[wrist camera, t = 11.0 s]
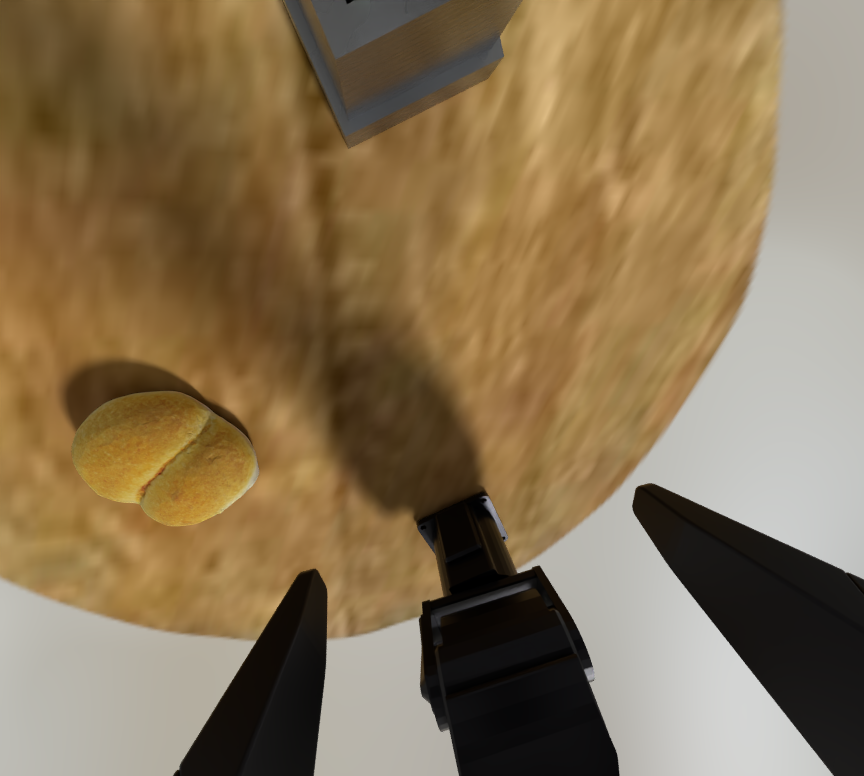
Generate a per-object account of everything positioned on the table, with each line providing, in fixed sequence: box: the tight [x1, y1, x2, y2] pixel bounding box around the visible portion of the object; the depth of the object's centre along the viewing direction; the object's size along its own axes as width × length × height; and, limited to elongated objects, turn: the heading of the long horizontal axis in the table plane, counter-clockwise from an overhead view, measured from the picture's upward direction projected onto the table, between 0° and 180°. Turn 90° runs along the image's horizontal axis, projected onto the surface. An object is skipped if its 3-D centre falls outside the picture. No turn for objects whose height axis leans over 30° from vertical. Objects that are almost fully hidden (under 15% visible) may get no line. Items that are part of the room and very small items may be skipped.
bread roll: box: [71, 391, 259, 526], centre depth 18 cm, size 8×9×4 cm
